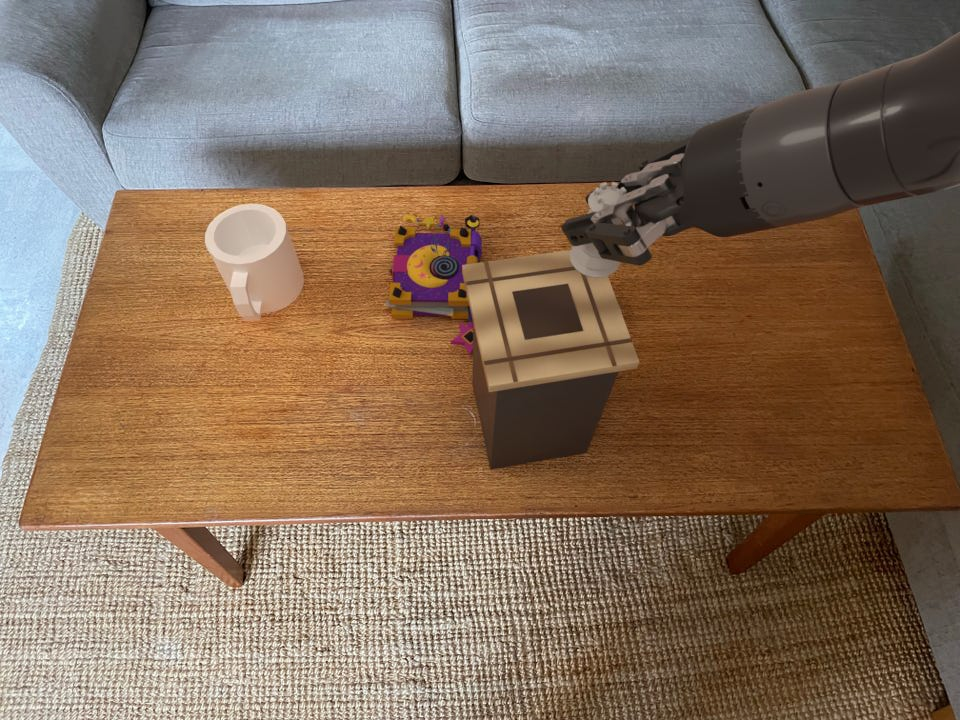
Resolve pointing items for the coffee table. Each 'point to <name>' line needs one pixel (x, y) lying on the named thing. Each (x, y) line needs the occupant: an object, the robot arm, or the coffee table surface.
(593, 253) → the rook chess piece
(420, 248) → the book
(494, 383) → the game board
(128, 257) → the coffee table surface
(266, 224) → the mug
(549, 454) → the board stand
